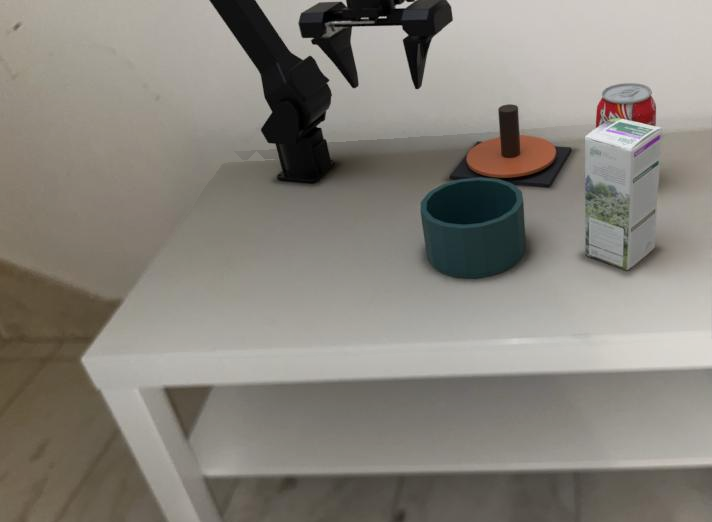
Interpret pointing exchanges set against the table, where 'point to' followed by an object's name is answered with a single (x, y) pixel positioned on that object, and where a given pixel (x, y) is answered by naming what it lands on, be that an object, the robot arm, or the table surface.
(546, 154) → the lid
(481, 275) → the round pot
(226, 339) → the table surface
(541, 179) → the mat
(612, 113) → the soda can
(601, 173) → the syrup box
